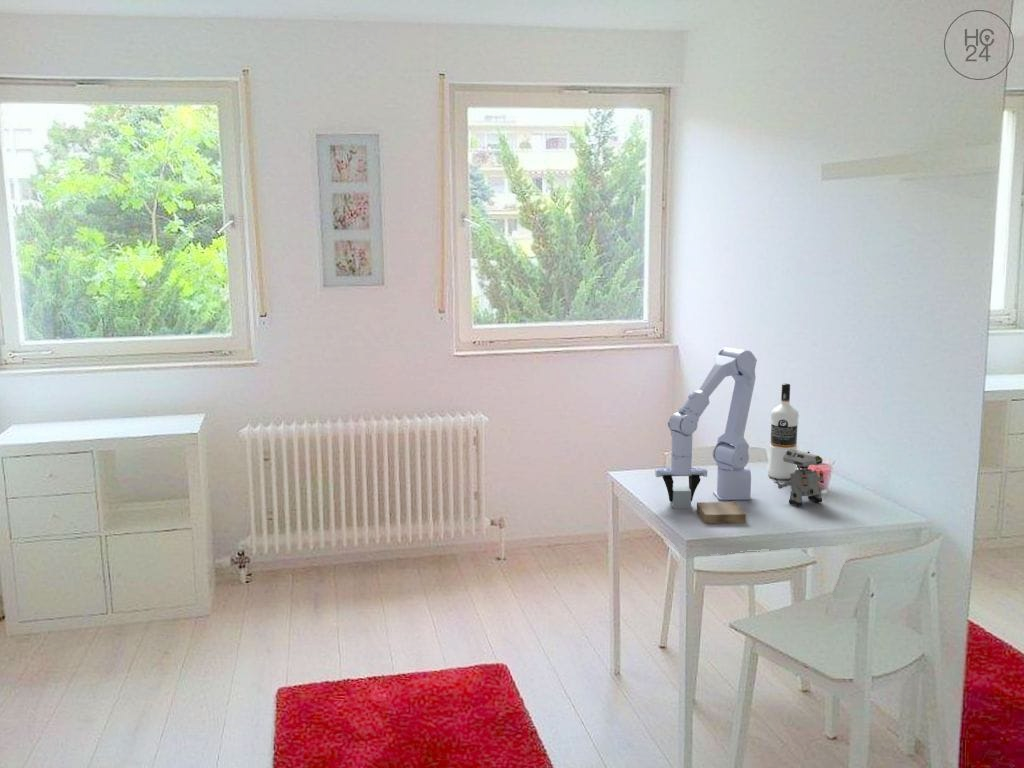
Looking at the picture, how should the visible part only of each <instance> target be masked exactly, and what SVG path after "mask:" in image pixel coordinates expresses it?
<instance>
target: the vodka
mask: <svg viewBox="0 0 1024 768" xmlns="http://www.w3.org/2000/svg"><path fill="white" fill-rule="evenodd" d="M790 399H791V384H790V383H782V384H781V397H780V404H778V405H777V406H775V407H774V408H773V409H772V410H771V412H770V419H771V420H770V423H771V427H770V443H769V461H768V466H767V468H766V473H767V476H768V477H770V478H772V479H775V478H776V479H777V480H781V479H789V480H791V479H790V478H791V476H790V473H792V472H795V470H798V468H797V465H796V464H792V463H788V462H784V461H783V457H784V455H785V453H786V451H787V450H789V449H794V450H797V449H798V445H797V443H798V426H799V425H798V424H799V416H800V415H799V411H798V410H797V409H796V408H795V407H794V406H792V405H791V403H790V401H791V400H790ZM776 479H775V480H776Z"/></svg>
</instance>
